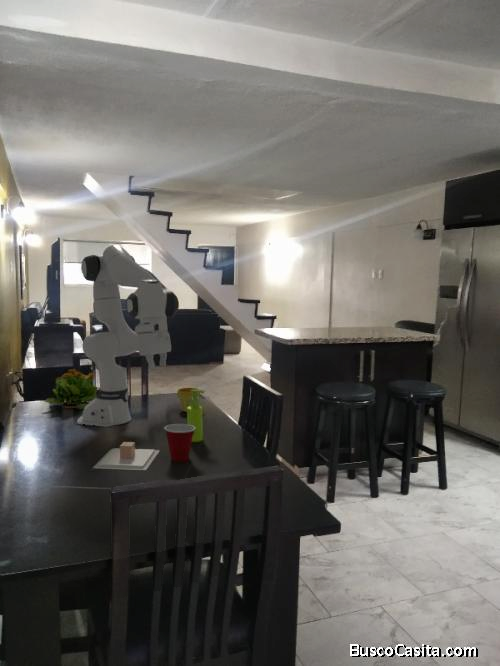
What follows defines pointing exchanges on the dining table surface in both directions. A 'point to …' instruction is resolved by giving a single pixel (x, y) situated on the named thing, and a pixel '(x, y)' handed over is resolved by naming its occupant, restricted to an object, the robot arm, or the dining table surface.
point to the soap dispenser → (195, 416)
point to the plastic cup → (179, 440)
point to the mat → (129, 468)
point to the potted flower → (74, 390)
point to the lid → (127, 456)
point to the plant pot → (185, 397)
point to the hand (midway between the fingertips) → (157, 367)
